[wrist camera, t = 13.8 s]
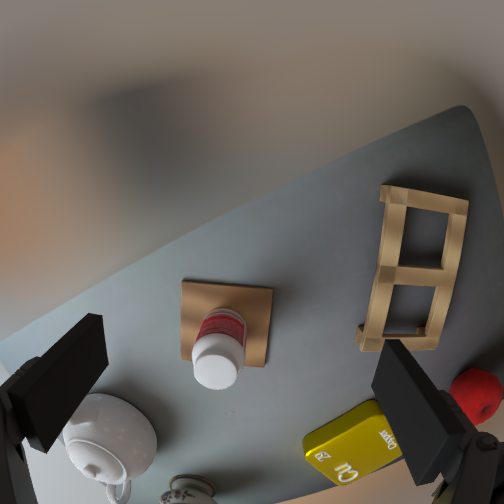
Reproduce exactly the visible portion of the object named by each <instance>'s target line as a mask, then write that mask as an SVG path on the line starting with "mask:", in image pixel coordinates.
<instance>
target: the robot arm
mask: <svg viewBox="0 0 504 504" xmlns="http://www.w3.org/2000/svg"><path fill="white" fill-rule="evenodd" d="M108 365H109V363H108V357H107V350H106V343H105V335H104V327H103V318H102V315H97V314H91V313H88V314H87V315H86V316H85V317H84V318H82V319H81V320H80V321H79V322H78V323H77V324H76V325H75V326H74V327H72V328H71V329H70V330H69V331H68V332H67V333H66V334H65V335H64V336H63V337H62V338H61V339H59V340H58V341H57V342H56V343H55V344H54V345H53V346H52V347H51V348H50V349H49V350H48V351H47V352H46V353H45V354H43V355H42V356H41V357H37V356H36V357H34V358H32V359H30V360H28V361H27V362H25V363H24V364H23V365H22V366H21V367H20V369H18V370H17V371H16V372H15V374H13V375H12V376H11V377H10V378H9V379H8V380H7V381H6V382H4V383H3V384H2V385H1V386H0V504H38V502H37V499H36V495H35V492H34V488H33V485H32V481H31V477H30V473H29V469H28V464H27V460H26V456H25V451H24V448H23V445H22V443H21V442H22V441H23V439H24V438H25V437H26V438H27V440H28V442H29V444H30V446H31V447H32V448H34V449H36V450H39V451H41V452H43V453H46V454H47V452H48V451H49V449H50V448H51V446H52V445H53V443H54V442H55V440H56V439H57V437H58V436H59V434H60V433H61V431H62V430H63V428H64V427H65V425H66V424H67V422H68V421H69V420H70V418H71V417H72V415H73V414H74V412H75V411H76V409H77V408H78V407H79V405H80V404H81V402H82V401H83V399H84V398H85V397H86V395H87V394H88V392H89V391H90V390H91V388H92V387H93V385H94V384H95V383H96V381H97V380H98V378H99V377H100V376H101V374H102V373H103V371H104V370H105V369H106V367H107V366H108ZM371 387H372V389H373V391H374V393H375V396H376V398H377V400H378V402H379V404H380V406H381V408H382V410H383V413H384V415H385V417H386V419H387V421H388V423H389V426H390V428H391V430H392V432H393V434H394V437H395V439H396V441H397V443H398V445H399V448H400V450H401V452H402V454H403V457H404V459H405V461H406V463H407V466H408V468H409V470H410V473H411V475H412V477H413V480H414V482H415V484H416V486H419V485H423V484H428V483H432V482H434V480H435V479H436V478H437V476H438V475H439V473H440V472H441V474H442V476H443V478H444V479H443V481H442V482H441V483H440V485H439V486H438V487H437V489H436V490H435V491H434V493H433V494H432V496H434V495H435V494H436V495H435V497H434V500H433V502H432V504H504V442H499V441H498V439H497V438H496V437H495V436H493V435H492V434H490V433H488V432H478V430H477V429H476V428H475V426H474V425H473V423H472V422H471V421H470V419H469V418H468V417H467V415H466V414H465V412H463V410H462V408H461V407H460V406H458V403H457V402H456V400H455V399H454V398H453V396H451V395H450V394H449V393H447V392H446V391H444V390H437V388H436V387H435V385H434V384H433V383H432V381H431V380H430V379H429V377H428V376H427V375H426V373H425V372H424V371H423V369H422V368H421V367H420V365H419V364H418V363H417V361H416V360H415V359H414V357H413V356H412V355H411V353H410V352H409V351H408V349H407V348H406V347H405V346H404V344H403V343H402V342H401V340H400V339H385V341H384V345H383V348H382V352H381V356H380V359H379V362H378V366H377V369H376V372H375V376H374V379H373V382H372V385H371Z"/></svg>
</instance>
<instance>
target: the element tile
mask: <svg viewBox="0 0 504 504" xmlns="http://www.w3.org/2000/svg"><path fill="white" fill-rule="evenodd" d="M302 443H303V449H304V455H305V459H306V460H307V461H308V462H309V463H310V464H311V465H313V466H314V467H315V468H316V469H317V470H319V471H320V472H321V473H322V474H324V475H325V476H326V477H327V478H329V479H330V480H331V481H333V482H334V483H335V484H337V485H341V486H344V485H347V484H349V483H352V482H354V481H356V480H358V479H360V478H362V477H364V476H366V475H367V474H369V473H371V472H373V471H375V470H377V469H379V468H380V467H382V466H384V465H386V464H387V463H389V462H391V461H393V460H394V459H396V458H398V457H399V456H401V455H402V452H401V450H400V448H399V445H398V443H397V441H396V439H395V437H394V434H393V432H392V430H391V428H390V426H389V423H388V421H387V419H386V417H385V415H384V413H383V410H382V408H381V406H380V404H379V403H378V402H377V401H374V400H369V401H366V402H364V403H362V404H361V405H359V406H357V407H356V408H354V409H352V410H351V411H349V412H347V413H346V414H344V415H342V416H341V417H339V418H337V419H335V420H334V421H332V422H330V423H328V424H327V425H325V426H323V427H321V428H319V429H318V430H316V431H314V432H312V433H310V434H308V435H307V436H306V437H305V438H304V439H303V442H302Z"/></svg>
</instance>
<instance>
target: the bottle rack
mask: <svg viewBox="0 0 504 504" xmlns="http://www.w3.org/2000/svg"><path fill="white" fill-rule="evenodd" d="M379 201H380V202H385V203H386V205H385V213H384V220H383V228H382V235H381V241H380V248H379V254H378V260H377V266H376V272H375V277H374V282H373V288H372V293H371V298H370V303H369V307H368V312H367V317H366V321H365V325H364V327H363V326H358V329H357V333H356V337H355V341H356V342H357V344H358V346H359V348H360V349H361V351H382V348H383V345H384V341H385V339H400V340H401V342H402V343H403V344H404V346H405V347H406V348H407V349H408V351H410V350H436V348H437V345H438V342H439V339H440V335H441V332H442V329H443V325H444V322H445V319H446V315H447V311H448V308H449V304H450V300H451V296H452V292H453V288H454V284H455V279H456V275H457V270H458V265H459V260H460V255H461V250H462V244H463V239H464V232H465V226H466V219H467V212H468V204H469V201H467V200H463V199H458V198H454V197H449V196H444V195H439V194H434V193H429V192H424V191H419V190H414V189H408V188H403V187H397V186H391V185H381V189H380V199H379ZM407 206H409V207H415V208H421V209H427V210H433V211H438V212H444V213H449V218H448V225H447V232H446V238H445V244H444V250H443V255H442V261H441V266H440V268H436V267H424V266H413V265H401V264H398V260H399V254H400V248H401V242H402V236H403V229H404V222H405V215H406V207H407ZM394 284H402V285H419V286H436V289H435V293H434V297H433V301H432V305H431V309H430V313H429V317H428V320H427V324H426V327H417V330H416V333H415V334H383V330H384V326H385V322H386V318H387V313H388V309H389V305H390V300H391V296H392V291H393V286H394Z"/></svg>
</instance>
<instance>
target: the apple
mask: <svg viewBox="0 0 504 504" xmlns="http://www.w3.org/2000/svg"><path fill="white" fill-rule="evenodd" d="M449 394H450V395H451V396H453V398H454V399H455V400H456V402H457V403H458V406H460V407H461V408H462V410H463V412H465V414H466V415H467V417H468V418H469V419H470V421H471V422H472V423H473V425H474V426H475V425H478V424H480V423H483V422H484V421H486V420H487V419H489V418H490V417H491V416H492V415H493V414H494V413H495V412H496V410H497V409H498V407H499V405H500V403H501V400H502V395H503V387H502V385H501V384H500V382H499V380H498V378H497V377H496V376H495V375H493V374H491V373H489V372H487V371H483V370H480V369H476V368H472V369H469V370H467V371H465V372H463V373H462V374H460V375H459V376H458V377H457V378H456V379H455V381H454V382H453V384H452V385H451V387H450V390H449Z"/></svg>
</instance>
